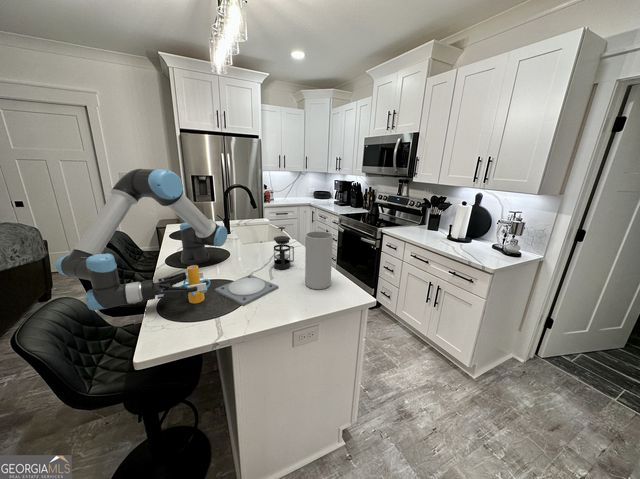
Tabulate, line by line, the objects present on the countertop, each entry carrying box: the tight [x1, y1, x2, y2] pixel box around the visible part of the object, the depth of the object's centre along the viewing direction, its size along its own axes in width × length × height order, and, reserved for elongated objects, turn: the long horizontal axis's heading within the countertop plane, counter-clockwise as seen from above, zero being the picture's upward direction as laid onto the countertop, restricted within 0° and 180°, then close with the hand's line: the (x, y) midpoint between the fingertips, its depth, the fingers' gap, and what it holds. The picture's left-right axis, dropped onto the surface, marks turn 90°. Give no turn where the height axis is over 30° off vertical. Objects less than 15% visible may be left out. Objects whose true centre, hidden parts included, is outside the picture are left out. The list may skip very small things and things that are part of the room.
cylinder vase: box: [304, 230, 334, 290], centre depth 121 cm, size 12×12×25 cm
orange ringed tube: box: [179, 264, 211, 305], centre depth 105 cm, size 12×10×15 cm
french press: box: [273, 226, 295, 271], centre depth 141 cm, size 12×9×23 cm
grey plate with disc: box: [214, 274, 279, 307], centre depth 117 cm, size 20×20×2 cm
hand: (204, 280), depth 107 cm, fingers closed on orange ringed tube, 11 cm apart
